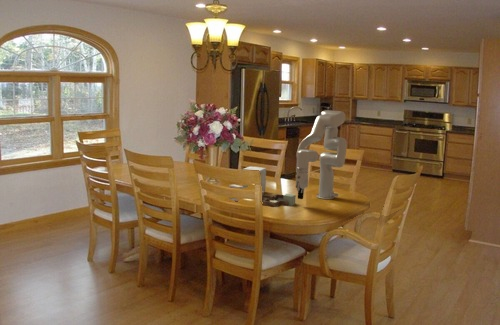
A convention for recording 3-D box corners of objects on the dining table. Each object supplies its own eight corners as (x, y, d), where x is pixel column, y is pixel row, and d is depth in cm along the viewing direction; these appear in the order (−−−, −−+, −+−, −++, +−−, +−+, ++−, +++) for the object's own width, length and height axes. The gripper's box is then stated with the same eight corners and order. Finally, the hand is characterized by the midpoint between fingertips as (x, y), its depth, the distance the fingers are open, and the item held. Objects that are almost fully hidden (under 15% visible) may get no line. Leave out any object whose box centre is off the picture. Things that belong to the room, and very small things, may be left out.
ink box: (243, 204, 315) (243, 186, 313) (237, 205, 312) (238, 187, 310) (233, 201, 321) (234, 183, 319) (228, 202, 317) (228, 184, 316)
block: (295, 203, 321) (295, 194, 320) (291, 205, 315) (291, 196, 314) (286, 202, 323) (287, 193, 323) (282, 204, 318) (283, 195, 317)
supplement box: (248, 189, 359) (249, 166, 356) (265, 191, 354) (266, 167, 351) (241, 193, 347) (242, 168, 344) (258, 195, 342) (259, 170, 339)
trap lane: (297, 200, 329) (298, 193, 329) (282, 207, 308) (283, 200, 308) (266, 196, 340) (267, 189, 339) (250, 202, 319) (250, 195, 318)
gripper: (303, 172, 304) (301, 201, 306) (312, 169, 317) (310, 197, 319) (292, 170, 307) (290, 199, 310) (301, 168, 320) (299, 196, 323)
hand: (300, 198), depth 314 cm, fingers closed
